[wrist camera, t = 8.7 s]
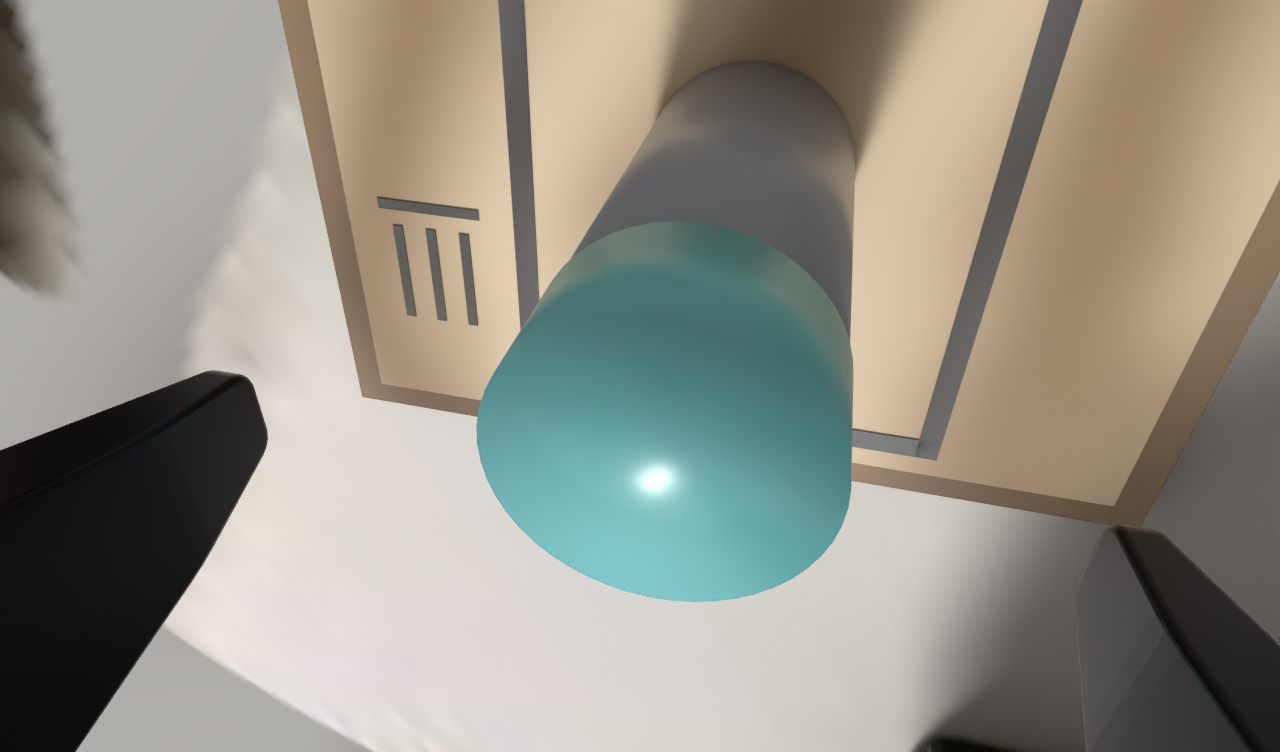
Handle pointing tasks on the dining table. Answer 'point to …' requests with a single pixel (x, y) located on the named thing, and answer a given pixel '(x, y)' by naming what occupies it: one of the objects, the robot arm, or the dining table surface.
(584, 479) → the marker
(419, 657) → the dining table surface
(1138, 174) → the tan rectangular board
